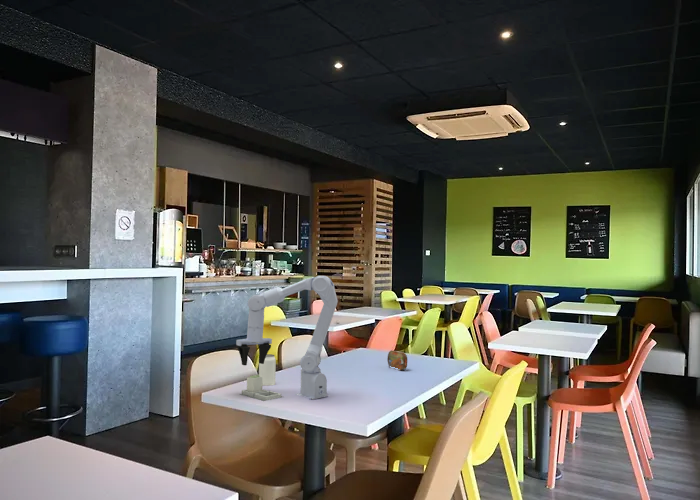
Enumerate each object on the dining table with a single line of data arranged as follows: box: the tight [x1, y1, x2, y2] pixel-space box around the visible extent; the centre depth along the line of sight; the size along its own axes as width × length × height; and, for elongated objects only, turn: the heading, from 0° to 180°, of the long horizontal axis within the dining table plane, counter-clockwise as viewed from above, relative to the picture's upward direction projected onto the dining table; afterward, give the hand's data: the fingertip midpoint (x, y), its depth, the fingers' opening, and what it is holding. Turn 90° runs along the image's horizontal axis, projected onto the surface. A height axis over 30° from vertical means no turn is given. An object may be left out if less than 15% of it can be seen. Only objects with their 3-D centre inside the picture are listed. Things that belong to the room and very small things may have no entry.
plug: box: [246, 374, 263, 393], centre depth 199 cm, size 4×4×7 cm
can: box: [258, 353, 277, 387], centre depth 217 cm, size 6×6×12 cm
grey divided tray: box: [238, 388, 284, 402], centre depth 196 cm, size 15×9×2 cm, turn 46°
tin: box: [387, 350, 408, 371], centre depth 257 cm, size 15×3×8 cm, turn 25°
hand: (252, 364), depth 201 cm, fingers open, 7 cm apart
